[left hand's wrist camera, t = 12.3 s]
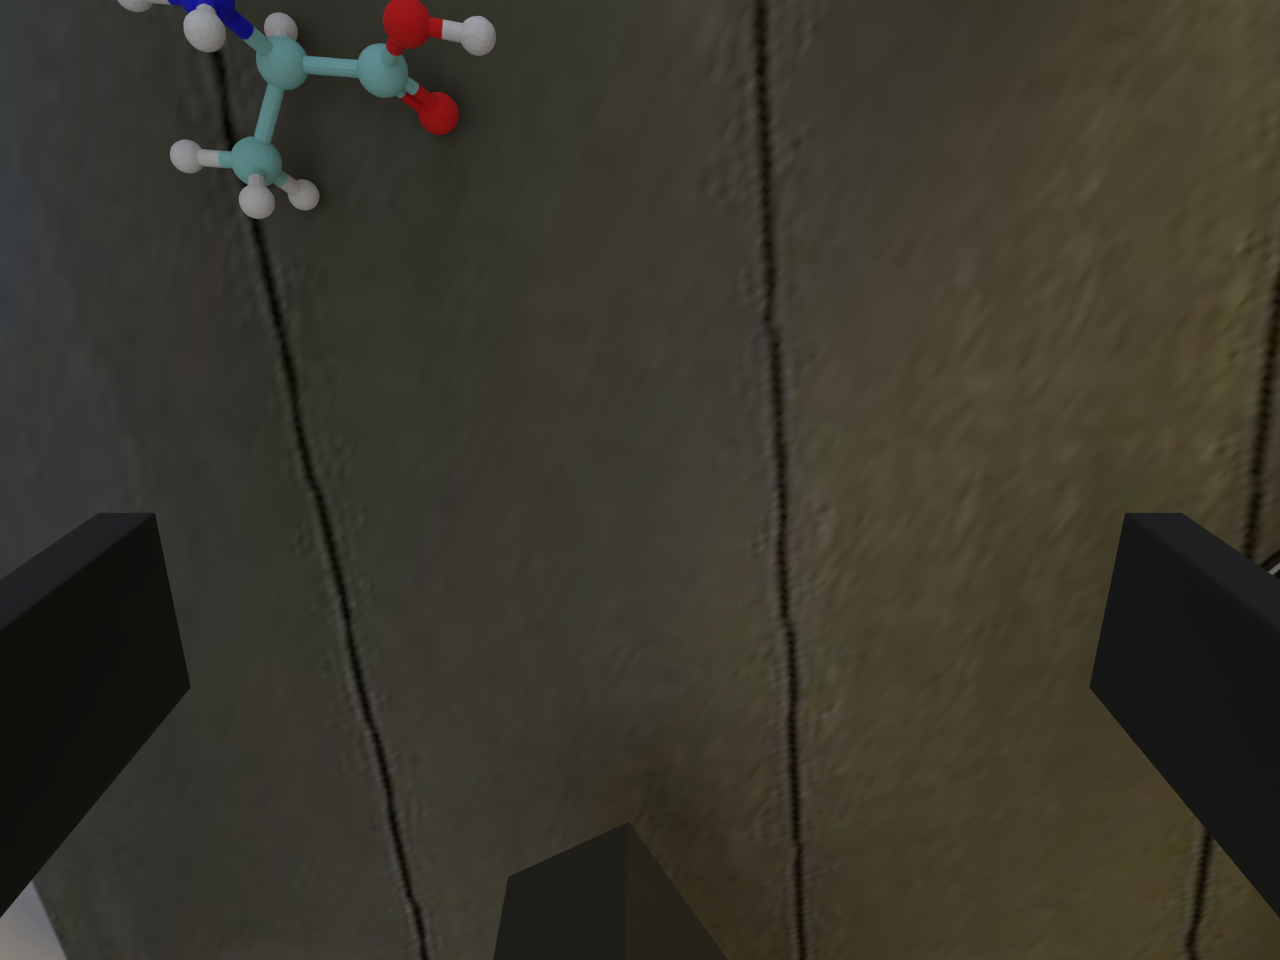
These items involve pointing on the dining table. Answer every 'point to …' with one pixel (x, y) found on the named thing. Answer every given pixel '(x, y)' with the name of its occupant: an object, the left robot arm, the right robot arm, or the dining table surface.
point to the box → (600, 907)
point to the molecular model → (290, 67)
